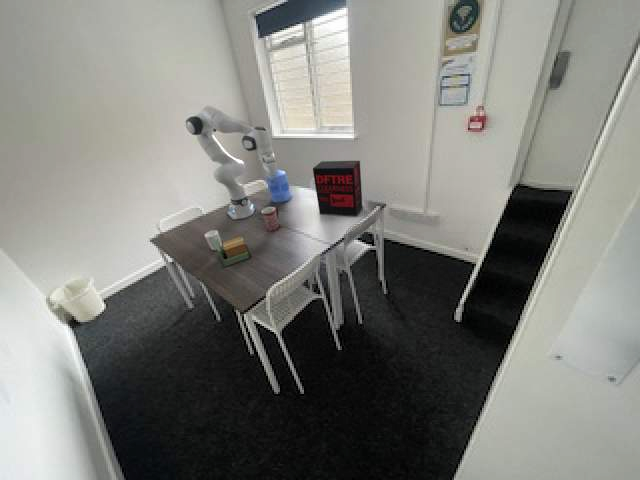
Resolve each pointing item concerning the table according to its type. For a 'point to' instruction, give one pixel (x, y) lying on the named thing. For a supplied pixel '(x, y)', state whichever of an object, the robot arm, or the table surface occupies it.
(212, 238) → the white cup
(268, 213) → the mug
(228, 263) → the stand
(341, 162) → the product box
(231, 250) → the parcel
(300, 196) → the table surface
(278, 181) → the water jug
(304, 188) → the table surface
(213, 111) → the robot arm
